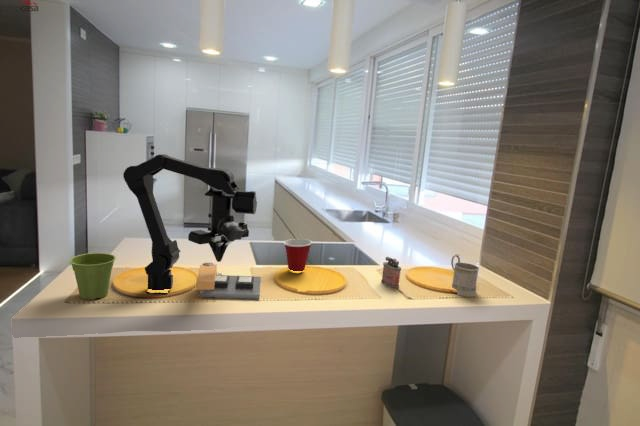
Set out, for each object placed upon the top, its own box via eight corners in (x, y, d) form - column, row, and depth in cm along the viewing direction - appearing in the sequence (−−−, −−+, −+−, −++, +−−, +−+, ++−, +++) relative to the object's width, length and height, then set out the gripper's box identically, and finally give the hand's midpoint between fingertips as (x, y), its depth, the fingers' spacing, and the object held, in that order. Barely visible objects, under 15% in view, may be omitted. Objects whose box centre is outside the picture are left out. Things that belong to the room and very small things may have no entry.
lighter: (401, 287, 150) (404, 261, 149) (394, 289, 148) (397, 262, 147) (385, 280, 157) (388, 255, 155) (379, 281, 155) (381, 255, 153)
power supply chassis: (198, 297, 127) (199, 282, 126) (207, 278, 143) (207, 265, 142) (259, 299, 129) (260, 284, 128) (260, 280, 145) (261, 267, 145)
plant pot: (73, 289, 125) (72, 253, 123) (117, 287, 129) (117, 252, 127) (66, 305, 114) (65, 265, 112) (114, 301, 119) (114, 263, 117)
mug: (483, 296, 148) (488, 264, 146) (458, 296, 146) (463, 263, 144) (460, 282, 162) (464, 252, 160) (437, 282, 160) (441, 252, 158)
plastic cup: (281, 266, 164) (283, 236, 162) (308, 267, 165) (310, 238, 163) (281, 275, 153) (283, 243, 151) (310, 276, 154) (313, 245, 152)
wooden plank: (200, 269, 136) (200, 262, 135) (216, 270, 137) (216, 262, 136) (196, 289, 119) (196, 281, 118) (214, 289, 120) (214, 281, 119)
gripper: (212, 219, 113) (209, 274, 116) (262, 213, 127) (259, 262, 130) (188, 212, 120) (186, 264, 122) (238, 207, 134) (235, 254, 137)
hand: (218, 261), depth 128 cm, fingers closed
